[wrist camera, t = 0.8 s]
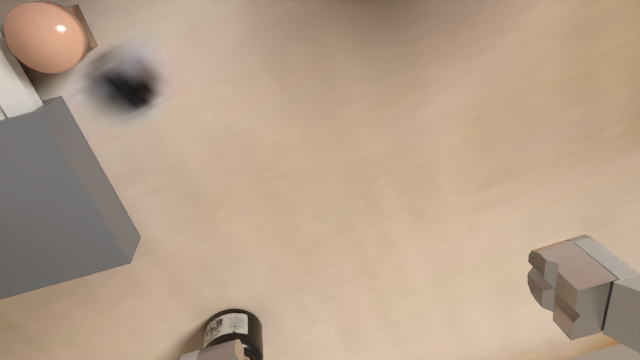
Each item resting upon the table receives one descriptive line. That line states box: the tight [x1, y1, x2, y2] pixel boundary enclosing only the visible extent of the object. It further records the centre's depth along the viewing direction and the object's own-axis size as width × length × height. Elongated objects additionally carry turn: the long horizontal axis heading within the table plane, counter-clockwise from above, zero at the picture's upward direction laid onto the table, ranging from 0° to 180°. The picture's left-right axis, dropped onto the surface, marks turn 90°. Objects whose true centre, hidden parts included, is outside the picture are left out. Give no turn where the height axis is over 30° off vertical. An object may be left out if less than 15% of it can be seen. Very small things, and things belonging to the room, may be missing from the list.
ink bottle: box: [203, 309, 263, 360], centre depth 58 cm, size 10×9×12 cm
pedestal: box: [66, 5, 97, 50], centre depth 39 cm, size 4×4×4 cm
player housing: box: [0, 96, 141, 299], centre depth 45 cm, size 20×18×5 cm
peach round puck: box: [4, 1, 88, 73], centre depth 36 cm, size 6×6×2 cm
